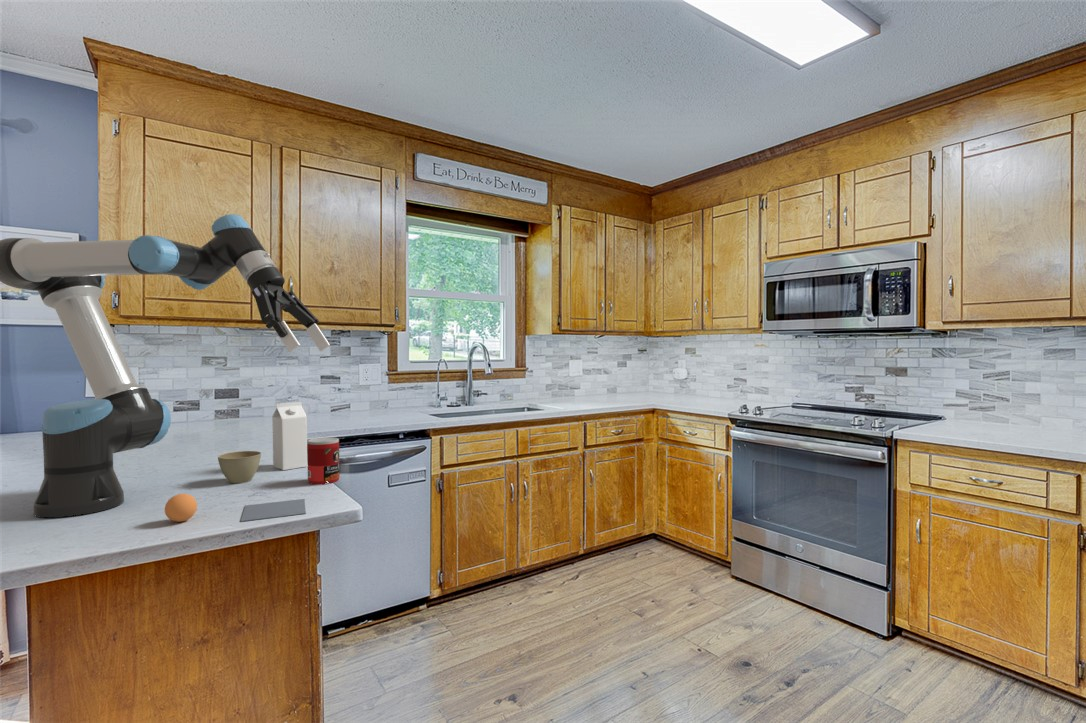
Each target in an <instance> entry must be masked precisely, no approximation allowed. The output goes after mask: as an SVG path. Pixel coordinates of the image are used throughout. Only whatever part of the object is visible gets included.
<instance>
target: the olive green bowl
mask: <svg viewBox="0 0 1086 723" xmlns="http://www.w3.org/2000/svg"><path fill="white" fill-rule="evenodd" d="M261 456H262V452H261V451H256V450H240V451H232V452H226V453H221V454H219V455H218V456H217V461H218V464H219V467H220V470H221V472H222V474H223V476H224V477H225V479H226V480H227V482H228V483H230V484H243V483H248V482H250V481H252V479H253V478H254V476H255V475H256V473H257V470H258V468H259V466H260V461H261V458H262V457H261Z"/></svg>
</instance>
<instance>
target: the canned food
mask: <svg viewBox="0 0 1086 723" xmlns="http://www.w3.org/2000/svg"><path fill="white" fill-rule="evenodd" d="M307 465H308V466H307V481H308V483H309V484H310V483H312V484H311V485H315V484H322V485H326V484H325V483H327V482H326V481H328V482H329V483H330V484H335V483H336V482H337V483H338V481H339V480H340V473H341V472H340V439H339V438H337V437H331V436H328V437H327V436H326V437H324V436H323V437H315V438H311V439H307Z"/></svg>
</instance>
